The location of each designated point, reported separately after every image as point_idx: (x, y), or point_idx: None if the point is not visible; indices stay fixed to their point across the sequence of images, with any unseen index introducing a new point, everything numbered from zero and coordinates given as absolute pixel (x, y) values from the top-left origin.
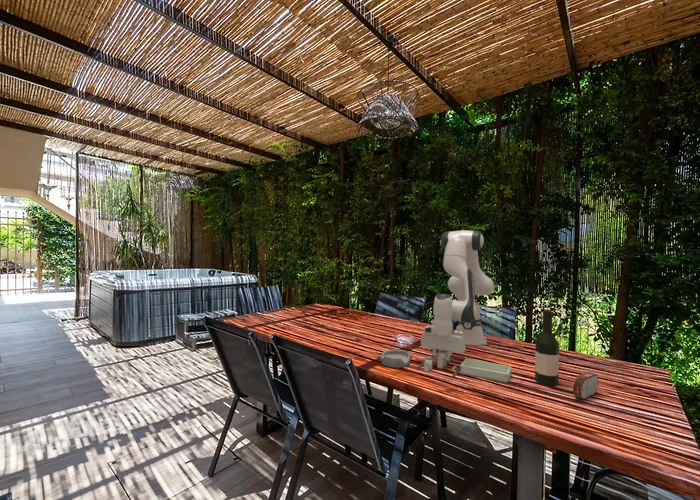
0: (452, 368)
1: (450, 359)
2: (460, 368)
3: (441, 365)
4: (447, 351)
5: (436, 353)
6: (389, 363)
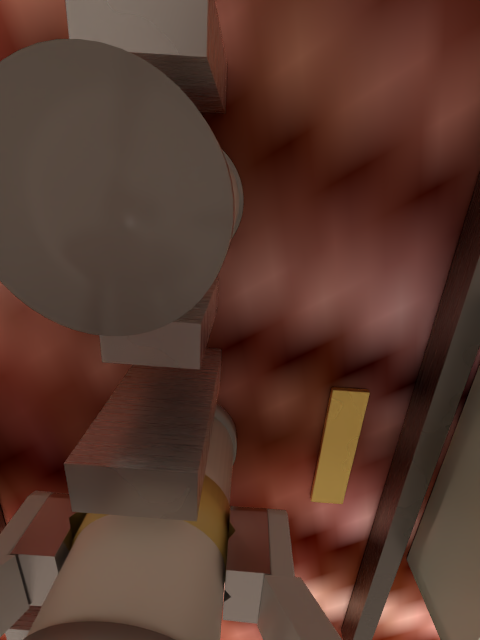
0: (320, 482)
1: (225, 80)
2: (440, 626)
3: None
4: (157, 320)
5: (4, 597)
6: None
